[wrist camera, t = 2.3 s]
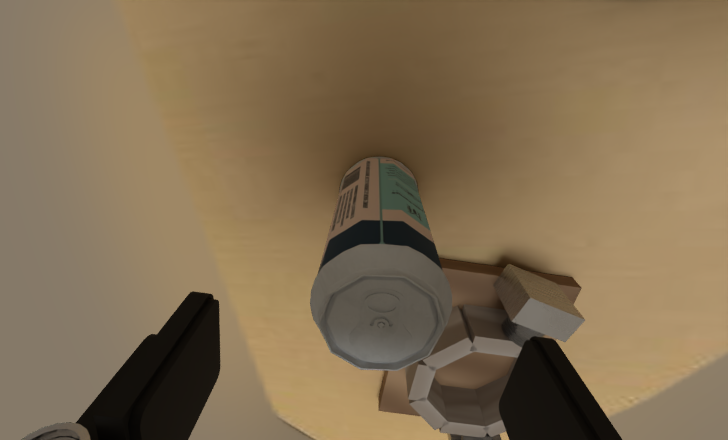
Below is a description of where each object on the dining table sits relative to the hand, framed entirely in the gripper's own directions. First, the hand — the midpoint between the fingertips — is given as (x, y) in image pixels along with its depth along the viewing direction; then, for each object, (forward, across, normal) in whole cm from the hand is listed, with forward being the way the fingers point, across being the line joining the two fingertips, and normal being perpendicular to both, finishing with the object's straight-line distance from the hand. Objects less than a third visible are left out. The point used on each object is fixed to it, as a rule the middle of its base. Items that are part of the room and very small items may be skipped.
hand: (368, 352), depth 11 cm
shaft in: (+11, -11, +4) cm, 16 cm away
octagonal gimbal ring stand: (+13, -9, +10) cm, 19 cm away
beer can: (+13, 0, -1) cm, 13 cm away
